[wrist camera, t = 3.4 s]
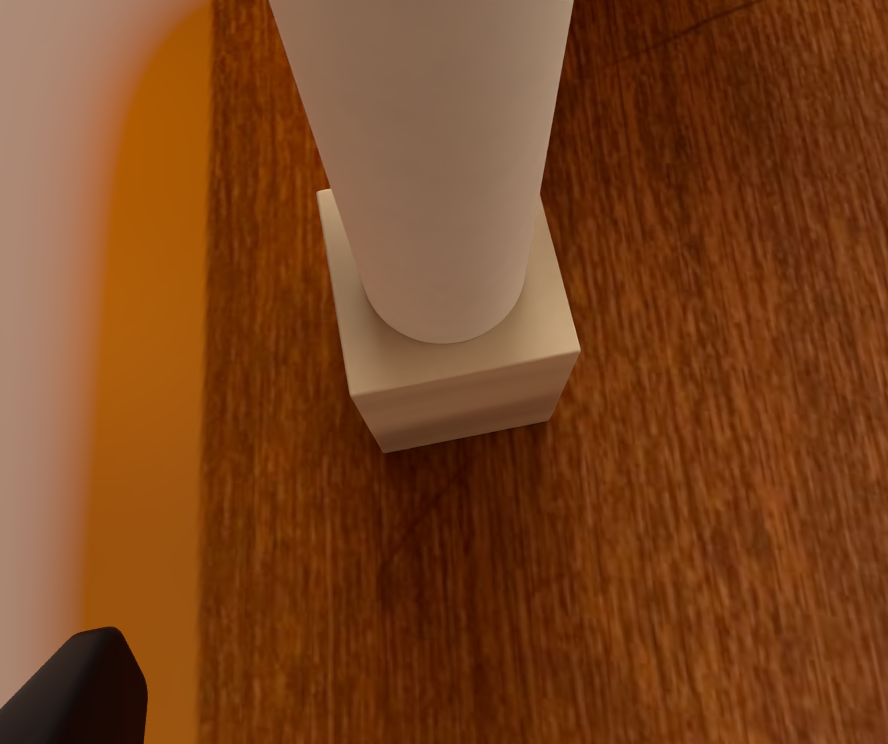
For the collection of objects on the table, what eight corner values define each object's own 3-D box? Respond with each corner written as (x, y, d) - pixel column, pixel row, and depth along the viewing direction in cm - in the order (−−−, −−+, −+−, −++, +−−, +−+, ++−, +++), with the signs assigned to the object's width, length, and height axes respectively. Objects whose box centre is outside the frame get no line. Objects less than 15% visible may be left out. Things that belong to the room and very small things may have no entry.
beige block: (550, 420, 22) (581, 351, 16) (382, 454, 22) (349, 396, 16) (512, 268, 24) (528, 150, 18) (355, 298, 24) (315, 190, 17)
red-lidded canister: (524, 351, 16) (718, -494, 4) (351, 342, 16) (-23, -493, 4) (530, 196, 17) (693, -867, 5) (367, 189, 17) (115, -852, 5)
